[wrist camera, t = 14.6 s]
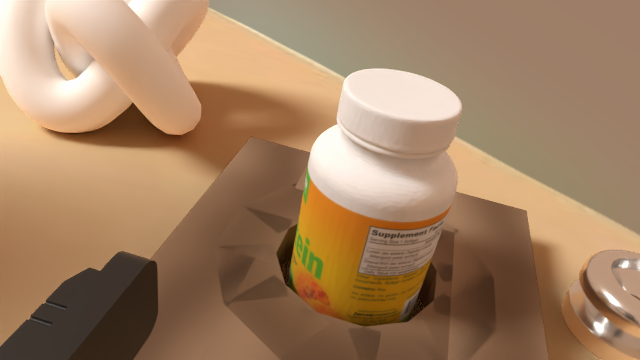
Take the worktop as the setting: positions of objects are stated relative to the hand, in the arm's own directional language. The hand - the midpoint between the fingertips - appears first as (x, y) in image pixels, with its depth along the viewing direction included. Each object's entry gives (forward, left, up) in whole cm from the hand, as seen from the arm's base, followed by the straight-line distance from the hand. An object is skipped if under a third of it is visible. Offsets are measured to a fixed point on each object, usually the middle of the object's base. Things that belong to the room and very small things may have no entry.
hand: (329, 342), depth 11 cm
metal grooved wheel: (+12, +12, -8) cm, 19 cm away
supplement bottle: (0, +9, -8) cm, 12 cm away
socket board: (0, +9, -7) cm, 12 cm away
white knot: (-16, +18, -8) cm, 25 cm away
